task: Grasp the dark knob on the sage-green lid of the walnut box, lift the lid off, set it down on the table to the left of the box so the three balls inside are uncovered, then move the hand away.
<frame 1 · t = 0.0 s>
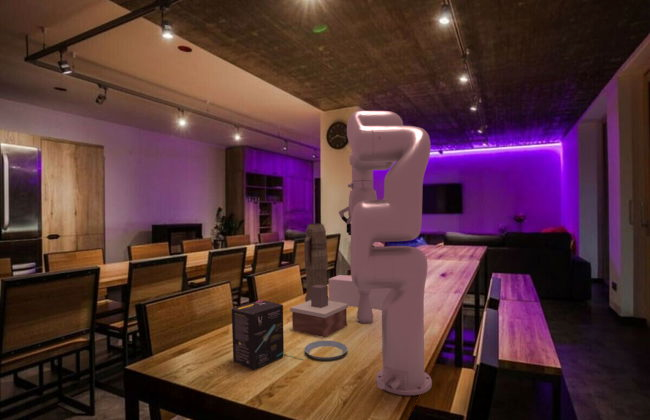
hand: (363, 234, 128), 31 cm above the table, tool pointing down, fingers open, 9 cm apart
pink rectangular block: (368, 305, 152), on the table
lid: (319, 309, 121), point 7 cm above the table, touching box
salt shaker: (365, 324, 127), on the table
thermos: (316, 314, 139), on the table
ball c: (311, 326, 122), point 1 cm above the table, touching box
saucer: (325, 357, 100), on the table
ball a: (321, 331, 117), point 1 cm above the table, touching box
tampon box: (258, 360, 98), on the table
ball b: (329, 326, 122), point 1 cm above the table, touching box
box: (320, 330, 121), on the table
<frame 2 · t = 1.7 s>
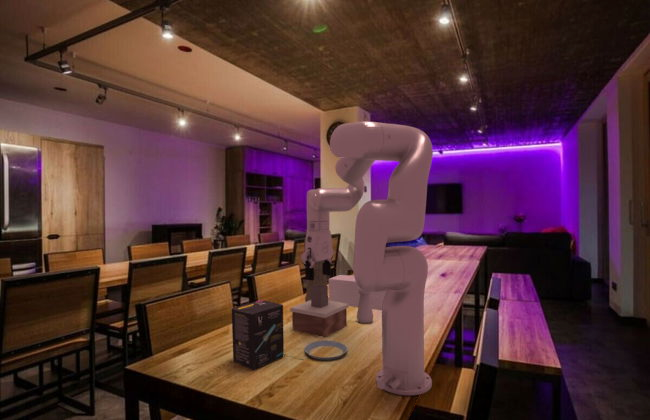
hand: (318, 277, 121), 18 cm above the table, tool pointing down, fingers open, 9 cm apart
nothing on the table moved.
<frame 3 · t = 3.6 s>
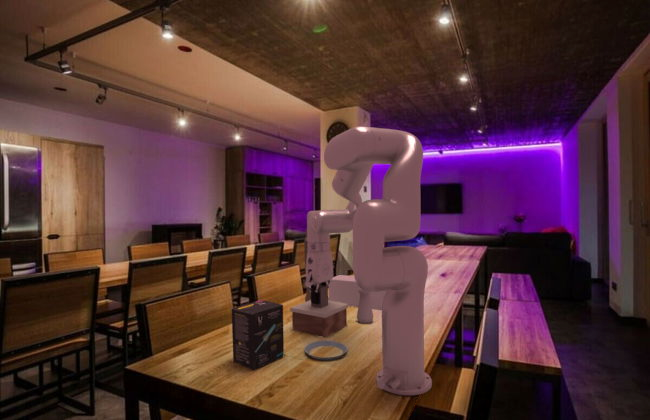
hand: (319, 301, 121), 10 cm above the table, tool pointing down, fingers closed on lid, 4 cm apart
lid: (319, 309, 121), point 7 cm above the table, touching box, gripper
everything else where it was.
when the fingers open (4 cm above the table, at t = 10.7 s): lid drops 2 cm, on the table.
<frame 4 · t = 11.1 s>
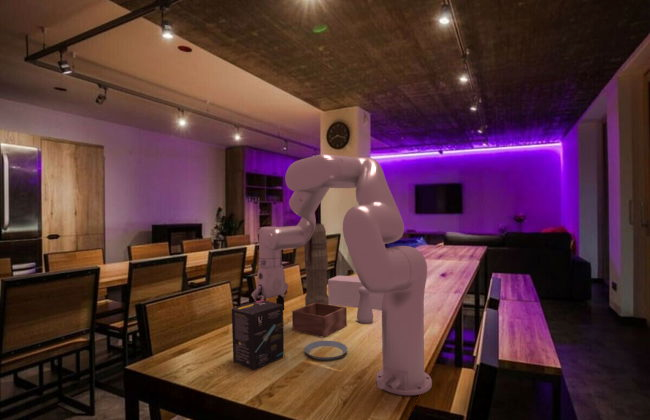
hand: (271, 312, 124), 5 cm above the table, tool pointing down, fingers open, 8 cm apart
lid: (271, 329, 124), on the table
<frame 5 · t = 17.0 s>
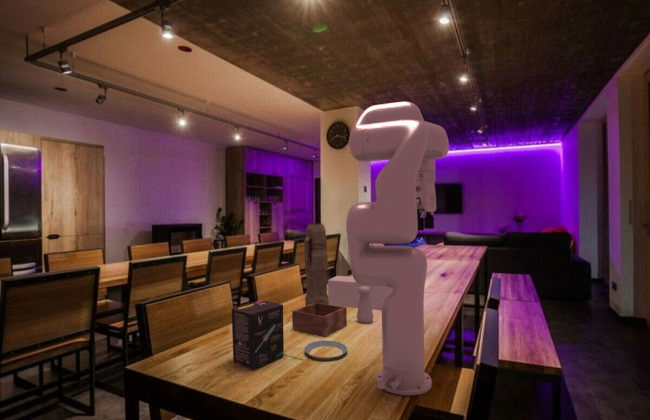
hand: (424, 229, 119), 33 cm above the table, tool pointing down, fingers open, 9 cm apart
at the end: lid inside the target area (0.1 cm from its centre), on the table; lid touching table; the gripper is holding nothing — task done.
